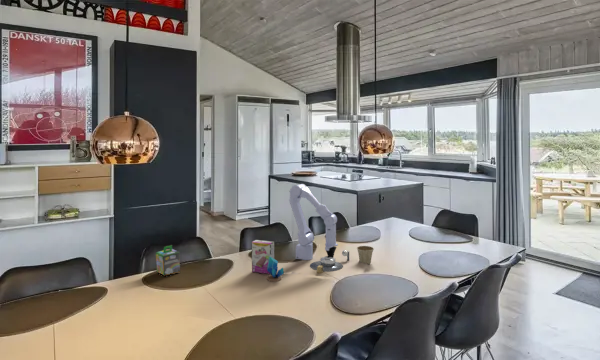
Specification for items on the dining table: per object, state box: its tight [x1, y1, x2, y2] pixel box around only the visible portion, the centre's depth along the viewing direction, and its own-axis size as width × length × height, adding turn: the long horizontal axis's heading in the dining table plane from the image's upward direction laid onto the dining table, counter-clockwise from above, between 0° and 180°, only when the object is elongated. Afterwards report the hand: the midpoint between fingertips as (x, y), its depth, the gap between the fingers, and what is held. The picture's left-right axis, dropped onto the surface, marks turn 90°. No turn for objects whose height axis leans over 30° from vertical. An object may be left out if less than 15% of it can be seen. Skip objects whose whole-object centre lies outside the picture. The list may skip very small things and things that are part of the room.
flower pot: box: [356, 245, 375, 265], centre depth 206 cm, size 9×9×9 cm
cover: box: [320, 255, 336, 267], centre depth 201 cm, size 8×8×4 cm
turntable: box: [309, 260, 344, 274], centre depth 198 cm, size 18×21×4 cm
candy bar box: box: [251, 239, 275, 275], centre depth 193 cm, size 11×5×16 cm, turn 71°
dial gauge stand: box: [341, 249, 350, 261], centre depth 209 cm, size 5×4×7 cm
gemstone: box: [266, 257, 284, 282], centre depth 183 cm, size 7×9×12 cm
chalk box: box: [155, 244, 181, 275], centre depth 193 cm, size 9×9×15 cm
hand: (330, 259), depth 206 cm, fingers closed
